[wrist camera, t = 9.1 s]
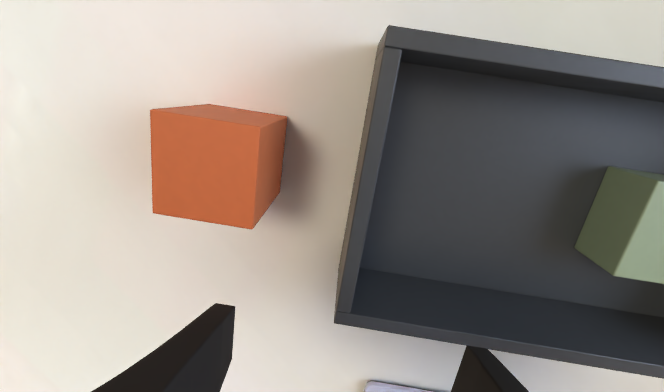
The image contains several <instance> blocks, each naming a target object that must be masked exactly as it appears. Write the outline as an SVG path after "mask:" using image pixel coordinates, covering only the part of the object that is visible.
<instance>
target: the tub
mask: <svg viewBox="0 0 664 392" xmlns="http://www.w3.org/2000/svg"><path fill="white" fill-rule="evenodd" d="M609 166H612V167H618V168H624V169H631V170H637V171H643V172H649V173H656V174H662V175H664V67H658V66H652V65H645V64H639V63H632V62H626V61H619V60H613V59H606V58H599V57H593V56H586V55H580V54H573V53H567V52H560V51H554V50H547V49H541V48H534V47H528V46H521V45H515V44H508V43H501V42H495V41H488V40H482V39H475V38H469V37H462V36H456V35H449V34H443V33H436V32H430V31H423V30H416V29H410V28H403V27H397V26H390V25H389V26H388V27H387V29H386V31H385V33H384V35H383V36H382V38H381V40H380V42H379V44H378V48H377V53H376V59H375V65H374V71H373V76H372V82H371V88H370V93H369V99H368V105H367V110H366V116H365V122H364V127H363V133H362V139H361V144H360V150H359V156H358V161H357V167H356V173H355V179H354V184H353V190H352V196H351V201H350V207H349V213H348V218H347V224H346V230H345V235H344V241H343V247H342V252H341V258H340V264H339V270H338V281H337V293H336V304H335V316H334V323H336V324H342V325H348V326H354V327H360V328H366V329H372V330H378V331H384V332H390V333H396V334H402V335H408V336H414V337H419V338H425V339H431V340H437V341H443V342H449V343H455V344H461V345H468V346H474V347H480V348H486V349H491V350H497V351H503V352H509V353H515V354H521V355H527V356H533V357H539V358H545V359H551V360H557V361H563V362H569V363H575V364H581V365H587V366H593V367H598V368H604V369H610V370H616V371H622V372H628V373H634V374H640V375H646V376H652V377H658V378H664V284H660V283H654V282H648V281H641V280H635V279H629V278H623V277H617V276H613V275H611V274H610V273H608V272H607V271H606V270H604V269H603V268H601V267H600V266H599V265H597V264H596V263H594V262H593V261H592V260H590V259H589V258H587V257H586V256H585V255H583V254H582V253H580V252H579V251H578V250H576V249H575V248H574V247H575V244H576V242H577V240H578V237H579V235H580V232H581V230H582V228H583V225H584V223H585V221H586V218H587V216H588V213H589V211H590V209H591V206H592V204H593V201H594V199H595V197H596V194H597V192H598V190H599V187H600V185H601V182H602V180H603V178H604V175H605V173H606V171H607V168H608V167H609Z"/></svg>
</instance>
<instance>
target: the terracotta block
mask: <svg viewBox="0 0 664 392" xmlns="http://www.w3.org/2000/svg"><path fill="white" fill-rule="evenodd" d="M150 120H151V161H152V203H153V213H155V214H161V215H167V216H173V217H180V218H186V219H192V220H198V221H204V222H210V223H216V224H222V225H228V226H235V227H241V228H247V229H253V228H254V227H255V225H256V224H257V222H258V221H259V220H260V218H261V217H262V216H263V214H264V213H265V212H266V210H267V209H268V207H269V206H270V205H271V203H272V202H273V201H274V199H275V198H276V197H277V195H278V194H279V192H280V184H281V174H282V164H283V155H284V145H285V135H286V126H287V117H286V116H281V115H274V114H268V113H262V112H255V111H249V110H243V109H236V108H230V107H224V106H217V105H211V104H205V105H194V106H183V107H172V108H161V109H152V110H150Z"/></svg>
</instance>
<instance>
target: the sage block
mask: <svg viewBox="0 0 664 392" xmlns="http://www.w3.org/2000/svg"><path fill="white" fill-rule="evenodd" d="M574 248H575V249H576V250H578V251H579V252H580V253H582V254H583V255H585V256H586V257H587V258H589V259H590V260H592V261H593V262H594V263H596V264H597V265H599V266H600V267H601V268H603V269H604V270H606V271H607V272H608V273H610V274H611V275H613V276H617V277H623V278H629V279H635V280H641V281H648V282H654V283H660V284H664V175H662V174H656V173H649V172H643V171H637V170H631V169H624V168H618V167H612V166H609V167H608V168H607V171H606V173H605V175H604V178H603V180H602V182H601V185H600V187H599V190H598V192H597V194H596V197H595V199H594V201H593V204H592V206H591V209H590V211H589V213H588V216H587V218H586V221H585V223H584V225H583V228H582V230H581V232H580V235H579V237H578V240H577V242H576V244H575V247H574Z"/></svg>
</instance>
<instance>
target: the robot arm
mask: <svg viewBox="0 0 664 392" xmlns="http://www.w3.org/2000/svg"><path fill="white" fill-rule="evenodd" d="M234 318H235V306H230V305H224V304H218V303H216V304H214V305H213V306H211V307H210V308H209V309H207V310H206V311H205V312H204V313H202V314H201V315H200V316H199V317H197V318H196V319H195V320H194V321H192V322H191V323H190V324H189V325H187V326H186V327H185V328H183V329H182V330H181V331H180V332H178V333H177V334H176V335H174V336H173V337H172V338H170V339H169V340H168V341H166V342H165V343H164V344H162V345H161V346H160V347H158V348H157V349H156V350H154V351H153V352H151V353H150V354H148V355H147V356H146V357H144V358H143V359H141V360H140V361H138V362H137V363H135V364H134V365H132V366H131V367H130V368H128V369H127V370H125V371H124V372H122V373H121V374H119V375H117V376H116V377H114V378H113V379H111V380H110V381H108V382H106V383H105V384H103V385H102V386H100V387H98V388H97V389H95V390H93V391H92V392H220V389H221V387H222V384H223V381H224V379H225V376H226V373H227V371H228V368H229V365H230V362H231V360H232V348H233V333H234ZM364 392H433V391H428V390H422V389H416V388H410V387H404V386H398V385H392V384H386V383H381V382H375V381H370V382H367V383H366V385H365V388H364ZM451 392H529V391H528V390H527V389H526V388H525V387H524V386H523V385H522V384H521V383H520V382H519V381H518V380H517V379H516V378H515V377H514V376H513V375H512V374H511V373H510V372H509V370H508V369H507V368H506V367H505V366H504V365H503V364H502V363H501V362H500V361H499V360H498V359H497V358H496V357H495V356H494V355H493V354H492V353H491V352H490V351H489V350H488V349H486V348H480V347H474V346H468V345H467V347H466V349H465V352H464V355H463V358H462V361H461V364H460V367H459V370H458V373H457V376H456V379H455V382H454V384H453V387H452V390H451Z"/></svg>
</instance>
